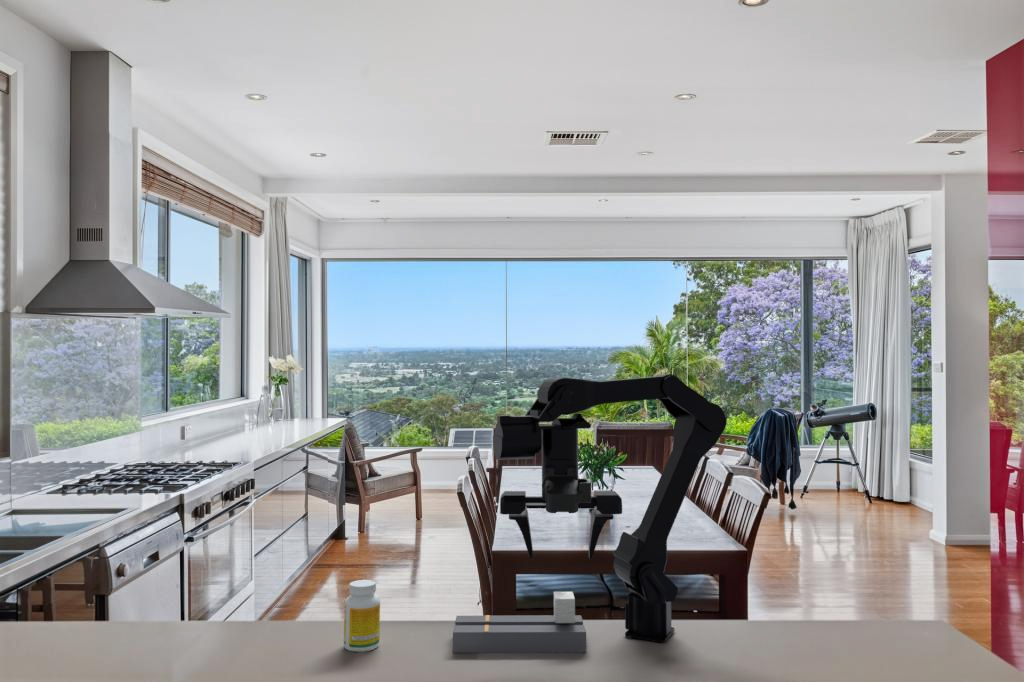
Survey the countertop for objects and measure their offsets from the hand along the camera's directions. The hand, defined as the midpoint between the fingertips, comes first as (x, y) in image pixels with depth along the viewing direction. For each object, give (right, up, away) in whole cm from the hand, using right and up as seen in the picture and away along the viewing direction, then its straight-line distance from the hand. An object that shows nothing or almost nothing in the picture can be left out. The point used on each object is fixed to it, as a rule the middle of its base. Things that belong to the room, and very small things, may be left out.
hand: (560, 558), depth 116 cm
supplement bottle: (-31, -13, -2) cm, 33 cm away
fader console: (-7, -13, -1) cm, 14 cm away
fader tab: (0, -11, 0) cm, 11 cm away
